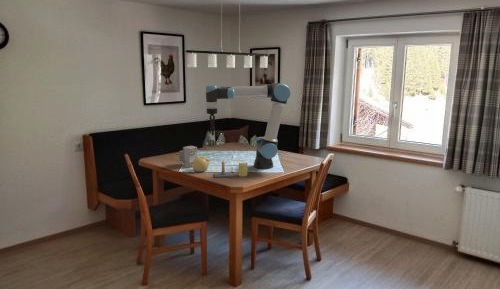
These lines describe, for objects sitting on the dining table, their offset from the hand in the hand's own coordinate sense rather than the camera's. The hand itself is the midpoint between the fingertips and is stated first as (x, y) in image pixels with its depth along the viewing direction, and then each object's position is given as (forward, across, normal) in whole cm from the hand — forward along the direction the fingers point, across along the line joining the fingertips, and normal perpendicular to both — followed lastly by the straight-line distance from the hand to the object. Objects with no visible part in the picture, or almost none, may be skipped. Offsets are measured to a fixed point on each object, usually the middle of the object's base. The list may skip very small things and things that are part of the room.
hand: (212, 137), depth 271 cm
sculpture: (+26, -8, -10) cm, 29 cm away
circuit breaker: (+26, -24, -20) cm, 40 cm away
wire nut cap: (+26, +6, +20) cm, 34 cm away
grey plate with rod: (+26, +6, +6) cm, 28 cm away
